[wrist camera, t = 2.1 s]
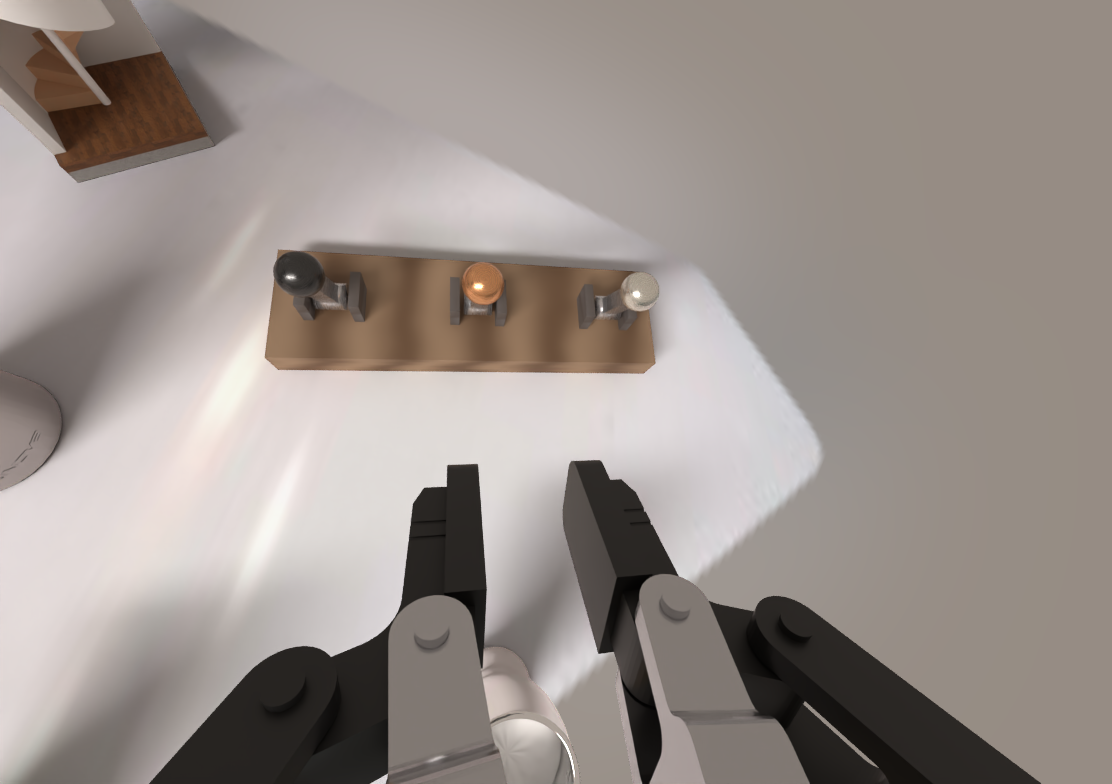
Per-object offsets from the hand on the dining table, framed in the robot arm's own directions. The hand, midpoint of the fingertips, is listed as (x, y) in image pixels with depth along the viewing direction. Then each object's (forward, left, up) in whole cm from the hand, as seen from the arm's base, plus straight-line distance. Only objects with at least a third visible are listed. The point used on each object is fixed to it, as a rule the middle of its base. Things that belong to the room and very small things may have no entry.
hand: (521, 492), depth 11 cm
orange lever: (-9, +17, -27) cm, 33 cm away
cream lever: (+1, +23, -27) cm, 35 cm away
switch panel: (-9, +16, -30) cm, 35 cm away
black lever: (-20, +11, -27) cm, 35 cm away
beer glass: (+8, -11, -30) cm, 33 cm away
